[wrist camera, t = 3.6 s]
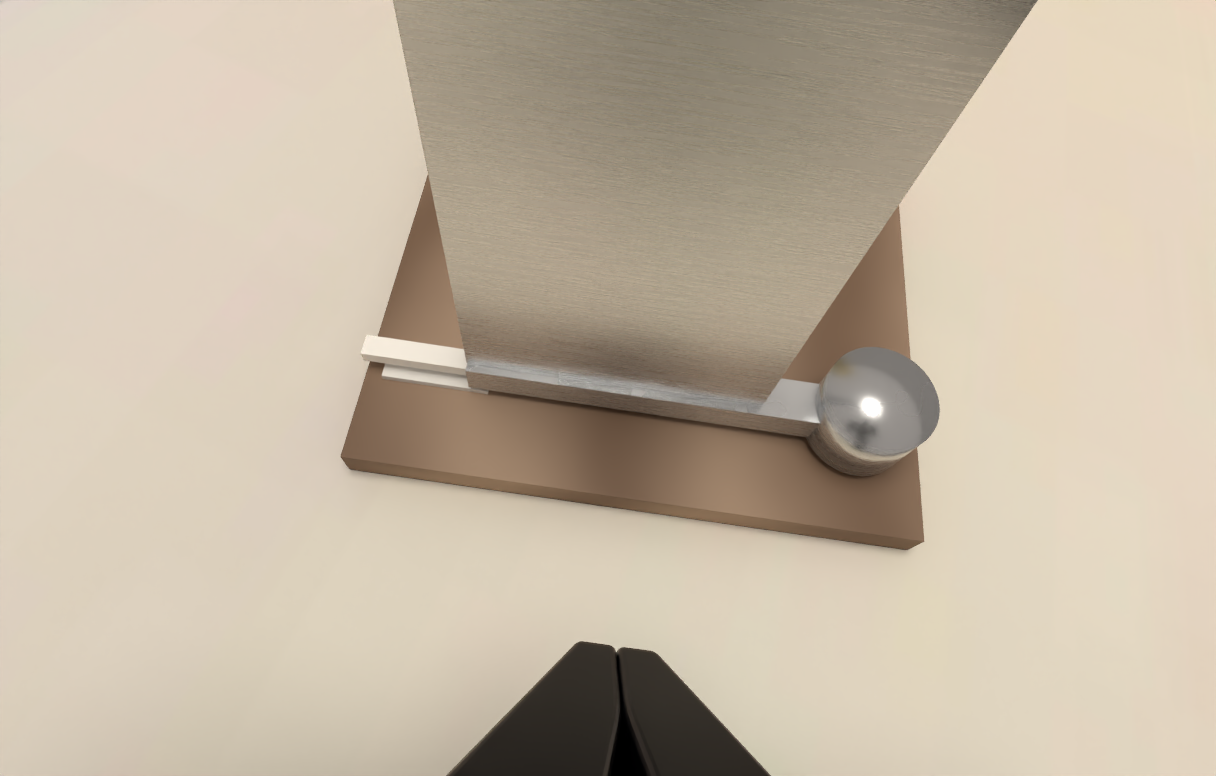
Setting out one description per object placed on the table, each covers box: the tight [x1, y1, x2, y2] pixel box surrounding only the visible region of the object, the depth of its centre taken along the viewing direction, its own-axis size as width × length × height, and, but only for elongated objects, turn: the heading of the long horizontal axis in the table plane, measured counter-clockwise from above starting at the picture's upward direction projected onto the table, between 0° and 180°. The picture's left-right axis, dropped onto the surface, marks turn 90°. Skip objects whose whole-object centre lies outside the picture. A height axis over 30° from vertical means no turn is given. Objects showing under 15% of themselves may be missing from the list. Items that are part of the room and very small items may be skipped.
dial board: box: [341, 175, 924, 550], centre depth 23 cm, size 16×14×1 cm
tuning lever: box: [361, 0, 1037, 476], centre depth 13 cm, size 16×3×15 cm, turn 83°
